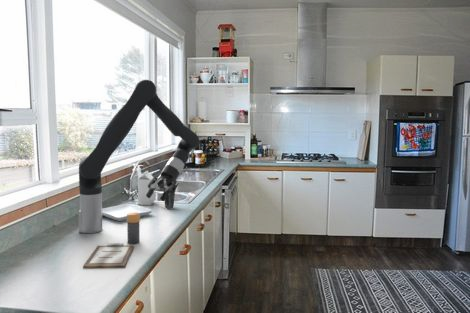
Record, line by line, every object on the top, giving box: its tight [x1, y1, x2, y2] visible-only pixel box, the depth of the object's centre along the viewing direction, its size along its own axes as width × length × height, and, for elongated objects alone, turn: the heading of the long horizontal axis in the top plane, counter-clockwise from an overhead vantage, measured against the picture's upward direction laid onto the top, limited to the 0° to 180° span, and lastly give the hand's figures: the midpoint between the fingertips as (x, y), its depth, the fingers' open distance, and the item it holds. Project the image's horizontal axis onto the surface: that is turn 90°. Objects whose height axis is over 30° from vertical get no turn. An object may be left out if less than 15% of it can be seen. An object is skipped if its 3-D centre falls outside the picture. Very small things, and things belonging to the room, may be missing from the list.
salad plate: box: [102, 203, 153, 222], centre depth 198 cm, size 21×21×3 cm
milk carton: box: [137, 170, 155, 206], centre depth 223 cm, size 7×7×19 cm
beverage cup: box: [162, 186, 176, 210], centre depth 214 cm, size 7×7×20 cm
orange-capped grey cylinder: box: [126, 212, 141, 245], centre depth 158 cm, size 5×5×12 cm
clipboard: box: [82, 242, 135, 269], centre depth 142 cm, size 14×20×2 cm
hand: (154, 198), depth 167 cm, fingers open, 8 cm apart
